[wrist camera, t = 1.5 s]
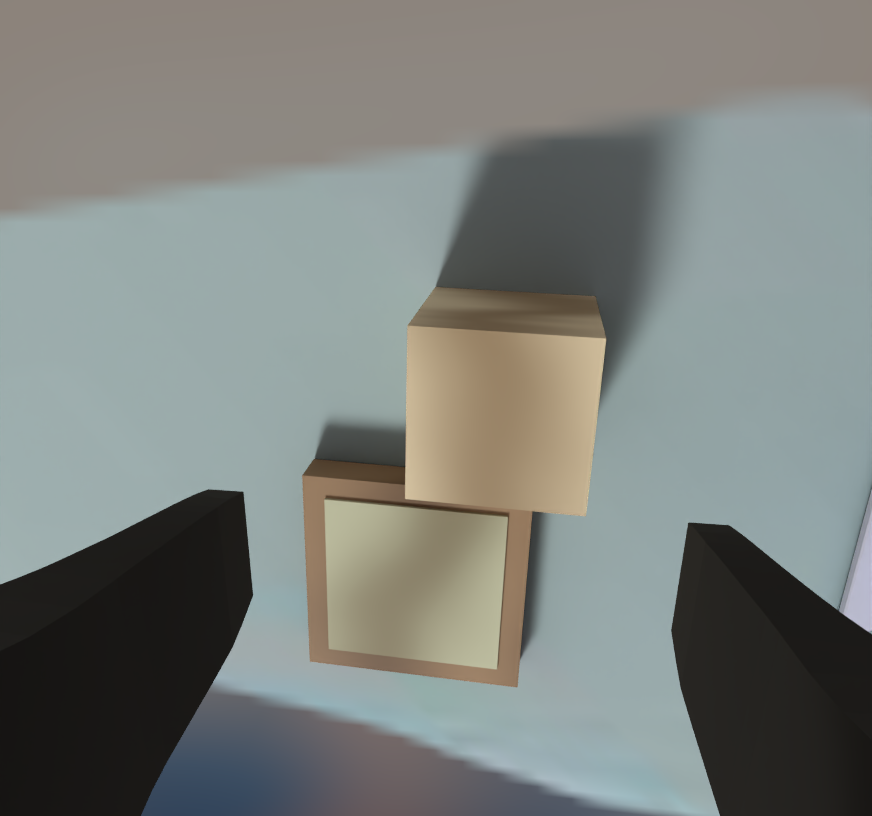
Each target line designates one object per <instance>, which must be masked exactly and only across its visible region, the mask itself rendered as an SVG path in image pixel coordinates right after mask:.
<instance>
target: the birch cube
mask: <svg viewBox="0 0 872 816" xmlns="http://www.w3.org/2000/svg"><path fill="white" fill-rule="evenodd" d="M605 346H606V336H605V332H604V328H603V324H602V320H601V316H600V312H599V308H598V304H597V300H596V296H582V295H564V294H547V293H530V292H513V291H496V290H479V289H462V288H444V287H435V288H434V290H433V291H432V292H431V294H430V295H429V297H428V298H427V299H426V301H425V302H424V304H423V305H422V306H421V308H420V309H419V310H418V312H417V313H416V315H415V316H414V317H413V319H412V320H411V322H410V323H409V324H408V329H407V397H406V464H405V499H410V500H420V501H431V502H441V503H452V504H462V505H473V506H483V507H494V508H504V509H515V510H525V511H536V512H546V513H557V514H567V515H578V516H586V511H587V502H588V493H589V485H590V476H591V467H592V458H593V450H594V441H595V432H596V424H597V415H598V406H599V398H600V389H601V380H602V372H603V363H604V354H605Z"/></svg>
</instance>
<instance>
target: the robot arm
mask: <svg viewBox="0 0 872 816" xmlns="http://www.w3.org/2000/svg"><path fill="white" fill-rule="evenodd" d="M252 597H253V590H252V579H251V569H250V558H249V547H248V537H247V526H246V515H245V504H244V494H243V492H238V491H223V490H209V489H208V490H206V491H203V492H200V493H198V494H195V495H193V496H191V497H189V498H186V499H184V500H182V501H180V502H178V503H176V504H174V505H172V506H170V507H168V508H166V509H164V510H162V511H160V512H158V513H156V514H154V515H152V516H150V517H148V518H146V519H144V520H142V521H140V522H138V523H136V524H134V525H132V526H130V527H128V528H127V529H125V530H123V531H121V532H119V533H117V534H115V535H113V536H111V537H109V538H107V539H105V540H102V541H100V542H98V543H96V544H94V545H92V546H89V547H87V548H85V549H83V550H81V551H79V552H76V553H74V554H72V555H70V556H68V557H66V558H64V559H61V560H59V561H57V562H55V563H53V564H51V565H48V566H46V567H43V568H41V569H39V570H36V571H34V572H31V573H29V574H27V575H24V576H22V577H19V578H17V579H14V580H11V581H9V582H6V583H3V584H0V816H141V814H142V812H143V809H144V807H145V805H146V803H147V801H148V798H149V796H150V794H151V791H152V789H153V788H154V786H155V783H156V782H157V780H158V778H159V776H160V774H161V772H162V770H163V768H164V766H165V765H166V763H167V761H168V759H169V757H170V755H171V754H172V752H173V750H174V749H175V747H176V745H177V743H178V742H179V740H180V738H181V737H182V735H183V733H184V731H185V730H186V728H187V726H188V724H189V723H190V721H191V719H192V718H193V716H194V714H195V712H196V710H197V709H198V707H199V705H200V704H201V702H202V700H203V699H204V697H205V695H206V693H207V692H208V690H209V688H210V686H211V685H212V683H213V681H214V679H215V678H216V676H217V674H218V672H219V671H220V669H221V667H222V665H223V663H224V662H225V660H226V658H227V656H228V654H229V653H230V651H231V649H232V647H233V645H234V642H235V640H236V638H237V635H238V633H239V630H240V628H241V626H242V623H243V621H244V618H245V615H246V613H247V610H248V607H249V605H250V602H251V599H252ZM671 631H672V638H673V644H674V651H675V657H676V664H677V669H678V675H679V681H680V686H681V690H682V694H683V697H684V701H685V704H686V707H687V711H688V714H689V717H690V721H691V724H692V727H693V730H694V734H695V737H696V740H697V743H698V747H699V750H700V753H701V756H702V759H703V763H704V766H705V769H706V772H707V775H708V779H709V782H710V785H711V788H712V791H713V795H714V798H715V801H716V804H717V807H718V811H719V814H720V816H872V634H871V633H869V632H870V631H872V490H871V494H870V497H869V501H868V505H867V509H866V512H865V516H864V520H863V523H862V527H861V531H860V535H859V538H858V542H857V546H856V549H855V553H854V557H853V560H852V564H851V568H850V572H849V575H848V579H847V583H846V586H845V590H844V594H843V598H842V601H841V605H840V609H839V611H838V610H837V609H835V608H834V607H833V606H831V605H830V604H829V603H827V602H826V601H825V600H823V599H822V598H821V597H819V596H818V595H817V594H815V593H814V592H813V591H812V590H810V589H809V588H808V587H806V586H805V585H804V584H803V583H801V582H800V581H799V580H798V579H796V578H795V577H794V576H793V575H791V574H790V573H789V572H788V571H786V570H785V569H784V568H783V567H781V566H780V565H779V564H778V563H776V562H775V561H774V560H773V559H772V558H770V557H769V556H768V555H767V554H765V553H764V552H763V551H762V550H761V549H759V548H758V547H757V546H756V545H754V544H753V543H752V542H751V541H749V540H748V539H747V538H746V537H744V536H743V535H742V534H740V533H739V532H738V531H736V530H735V529H733V528H732V527H731V526H729V525H716V524H702V523H688V528H687V534H686V541H685V547H684V553H683V560H682V566H681V573H680V579H679V585H678V592H677V598H676V604H675V611H674V617H673V623H672V630H671Z"/></svg>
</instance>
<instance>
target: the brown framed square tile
mask: <svg viewBox="0 0 872 816" xmlns="http://www.w3.org/2000/svg"><path fill="white" fill-rule="evenodd" d="M302 479H303V503H304V528H305V552H306V577H307V601H308V626H309V650H310V662H318V663H326V664H335V665H343V666H351V667H359V668H367V669H375V670H383V671H391V672H399V673H407V674H415V675H423V676H431V677H439V678H447V679H455V680H463V681H471V682H479V683H487V684H495V685H503V686H511V687H517V686H518V674H519V662H520V651H521V639H522V627H523V615H524V604H525V592H526V580H527V569H528V557H529V545H530V534H531V522H532V511H525V510H515V509H504V508H494V507H483V506H473V505H462V504H452V503H441V502H431V501H420V500H410V499H405V467H398V466H387V465H376V464H364V463H353V462H342V461H331V460H320V459H314V460H313V461H312V463H311V464H310V465H309V467H308V468H307V470H306V471H305V472H304V474H303V475H302Z"/></svg>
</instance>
